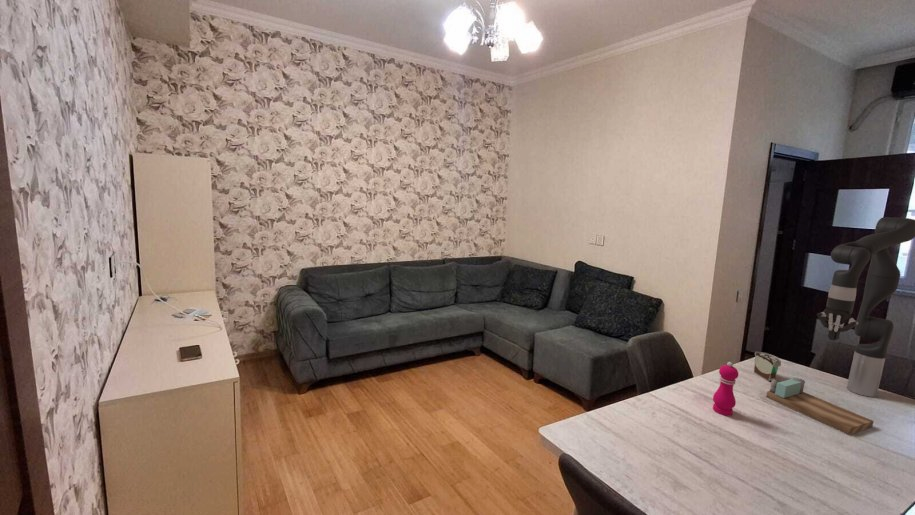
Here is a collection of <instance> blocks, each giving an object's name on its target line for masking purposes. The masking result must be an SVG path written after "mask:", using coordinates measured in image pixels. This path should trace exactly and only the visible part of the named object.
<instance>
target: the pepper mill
mask: <svg viewBox="0 0 915 515" xmlns="http://www.w3.org/2000/svg"><path fill="white" fill-rule="evenodd" d="M733 365H734V363H733V362H731V361H728V362H727V363H726V364H723V365H721V366H720V368H719V371H718V373H719V375H720V376H719V386H718V388H717V389H716V391H715V392H714V393H713V396H712V400H713V404H712V409H713V411H714V412H715V413H718V414H719V415H722V416H729V417H730V416H731V415H733V413H734V410H733V408H735V406H736V396H735V394H734V385H735V384H736V379H738V377H739V371H738V369H737V368H736V367H735V366H733Z"/></svg>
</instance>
